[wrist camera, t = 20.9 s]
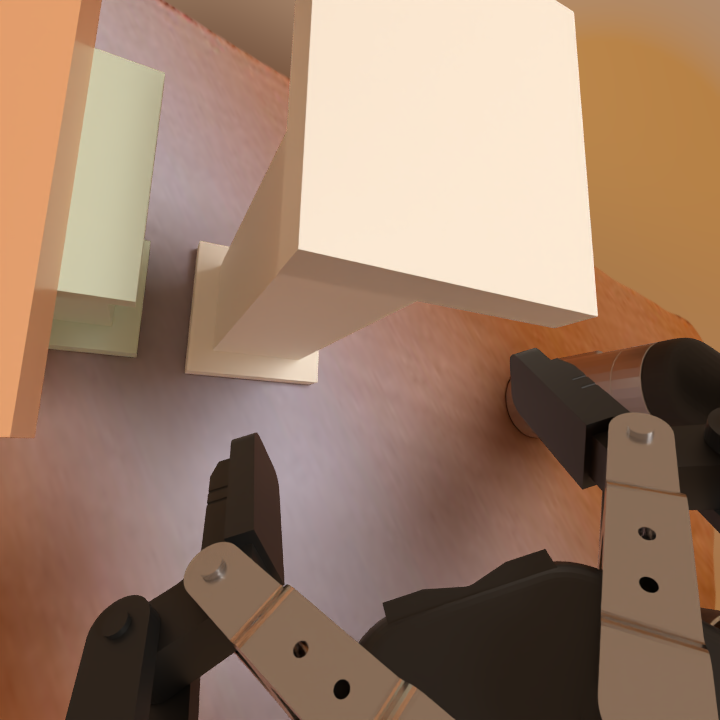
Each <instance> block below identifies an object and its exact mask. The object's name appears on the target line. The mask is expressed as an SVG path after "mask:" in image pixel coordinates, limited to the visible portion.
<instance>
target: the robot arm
mask: <svg viewBox="0 0 720 720" xmlns="http://www.w3.org/2000/svg"><path fill="white" fill-rule="evenodd" d="M510 374H511V380H510V382H509V384H508V388H507V394H506V401H507V408H508V412H509V415H510V417H511V420H512V421H513V423H514V425H515V426H516V427H517V428H518V429H519V430H520V431H521V432H522V433H523V434H525V435H527V436H530V437H536V438H540V439H541V441H542V442H543V443H544V444H545V445H546V447H547V448H548V449H549V450H550V451H551V453H552V454H553V455H554V456H555V457H556V459H557V460H558V461H559V462H560V463H561V465H562V466H563V467H564V468H565V469H566V471H567V472H568V473H569V474H570V475H571V477H572V478H573V479H574V480H575V481H576V482H577V484H578V485H579V486H580V487H581V488H582V489H585V488H588V487H591V486H594V485H598V487H599V488H600V489H601V490H602V501H601V520H600V538H599V555H598V568H594V567H591V566H587V565H584V564H579V563H573V562H561V561H556V562H553V561H552V559H551V557H550V556H549V554H548V553H547V551H546V550H545V549H544V550H541V551H538V552H535V553H532V554H529V555H526V556H523V557H520V558H517V559H514V560H511V561H508V562H505V563H504V564H502V565H501V566H499V567H498V568H496V569H495V570H493V571H492V572H490V573H489V574H487V575H486V576H484V577H483V578H481V579H480V580H478V581H477V582H475V583H474V584H472V585H470V586H467V587H455V588H439V589H424V590H420V591H417V592H414V593H411V594H408V595H405V596H402V597H399V598H396V599H393V600H390V601H387V602H384V603H383V607H384V611H385V615H386V617H384V618H383V619H381V620H380V621H378V622H377V623H376V624H375V625H374V626H373V627H372V628H370V629H369V631H368V632H367V633H366V634H365V635H364V636H363V637H362V639H361V640H360V641H359V643H358V642H356V641H355V640H354V639H353V638H352V637H351V636H349V635H348V634H347V633H346V632H345V631H344V630H342V629H341V628H340V627H339V626H338V625H336V624H335V623H334V622H333V621H332V620H331V619H329V618H328V617H327V616H326V615H325V614H324V613H322V612H321V611H320V610H319V609H318V608H317V607H315V606H314V605H313V604H312V603H311V602H310V601H308V600H307V599H306V598H305V597H304V596H303V595H301V594H300V593H299V592H298V591H297V590H295V589H294V588H293V587H291V586H290V585H286V586H285V587H283V585H285V584H284V567H283V549H282V531H281V513H280V496H279V484H278V479H277V475H276V472H275V469H274V467H273V465H272V462H271V460H270V458H269V456H268V454H267V452H266V449H265V447H264V445H263V443H262V441H261V439H260V437H259V435H258V434H257V433H253V434H250V435H247V436H243V437H240V438H237V439H234V440H232V441H231V451H230V459H226V460H223V461H220V462H218V464H217V466H216V468H215V469H214V471H213V473H212V475H211V476H210V484H209V494H208V500H207V504H208V506H207V508H206V516H205V524H204V532H203V540H202V548H201V551H200V552H199V553H198V554H197V555H196V556H195V557H194V558H193V559H192V561H191V562H190V564H189V565H188V567H187V569H186V571H185V575H184V579H183V580H182V581H181V582H179V583H178V584H176V585H175V586H174V587H172V588H170V589H169V590H167V591H166V592H164V593H162V594H161V595H159V596H158V597H156V598H154V599H153V600H151V601H150V602H148V601H147V600H146V599H145V598H144V597H142V596H139V595H131V596H127V597H124V598H122V599H119V600H118V601H116V602H114V603H113V604H111V605H110V606H109V607H108V608H106V609H105V610H104V611H103V612H102V613H101V614H100V615H99V617H98V618H97V619H96V620H95V622H94V623H93V625H92V627H91V629H90V631H89V633H88V636H87V639H86V643H85V646H84V650H83V654H82V658H81V662H80V666H79V669H78V673H77V677H76V681H75V685H74V688H73V692H72V696H71V700H70V704H69V707H68V711H67V715H66V719H65V720H198V713H199V691H200V676H202V675H203V674H204V673H206V672H207V671H209V670H210V669H211V668H213V667H214V666H216V665H217V664H219V663H220V662H221V661H223V660H224V659H226V658H227V657H228V656H230V655H231V654H233V653H235V654H236V655H237V656H238V658H239V659H240V660H241V661H242V662H243V663H244V665H245V666H246V667H247V668H248V669H249V670H250V671H251V673H252V674H253V675H254V676H255V677H256V678H257V680H258V681H259V682H260V683H261V684H262V685H263V686H264V688H265V689H266V690H267V691H268V692H269V693H270V695H271V696H272V697H273V698H274V699H275V700H276V701H277V703H278V704H279V705H280V706H281V707H282V709H283V710H284V711H285V712H286V714H287V715H288V716H289V717H290V719H291V720H720V629H719V628H717V627H715V626H713V625H711V624H709V623H707V622H705V621H703V620H702V619H701V611H700V602H699V594H698V585H697V576H696V568H695V559H694V551H693V542H692V534H691V525H690V516H689V510H698V511H699V512H700V513H701V514H702V515H703V516H704V517H705V518H706V520H707V521H708V522H709V523H710V524H711V525H712V526H713V527H714V528H715V529H716V530H717V531H718V532H719V533H720V353H719V352H717V351H716V350H714V349H713V348H711V347H710V346H708V345H707V344H705V343H703V342H701V341H699V340H696V339H692V338H677V339H671V340H666V341H661V342H657V343H651V344H646V345H641V346H636V347H631V348H626V349H620V350H615V351H610V352H605V353H603V352H601V351H594V352H589V353H583V354H578V355H573V356H568V357H563V358H556V359H553V360H550V359H549V358H548V357H547V356H545V355H544V354H543V353H542V352H541V351H540V350H539V349H537V348H533V349H530V350H527V351H523V352H520V353H517V354H513V355H511V357H510Z"/></svg>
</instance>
